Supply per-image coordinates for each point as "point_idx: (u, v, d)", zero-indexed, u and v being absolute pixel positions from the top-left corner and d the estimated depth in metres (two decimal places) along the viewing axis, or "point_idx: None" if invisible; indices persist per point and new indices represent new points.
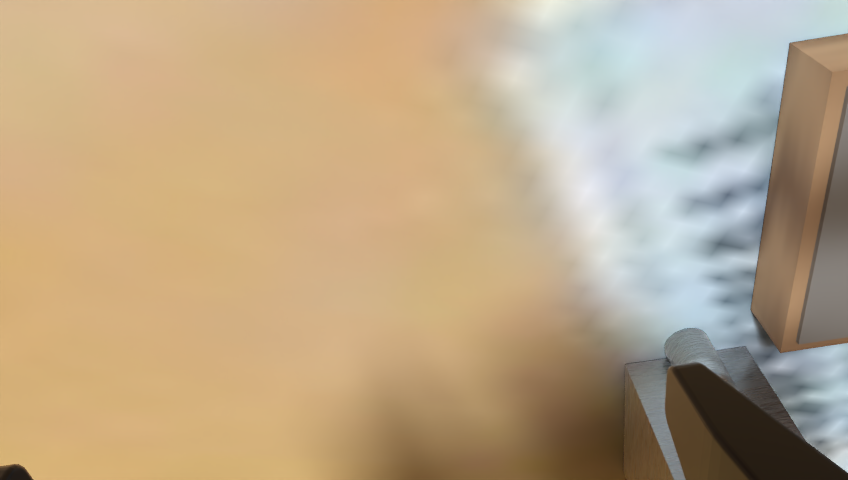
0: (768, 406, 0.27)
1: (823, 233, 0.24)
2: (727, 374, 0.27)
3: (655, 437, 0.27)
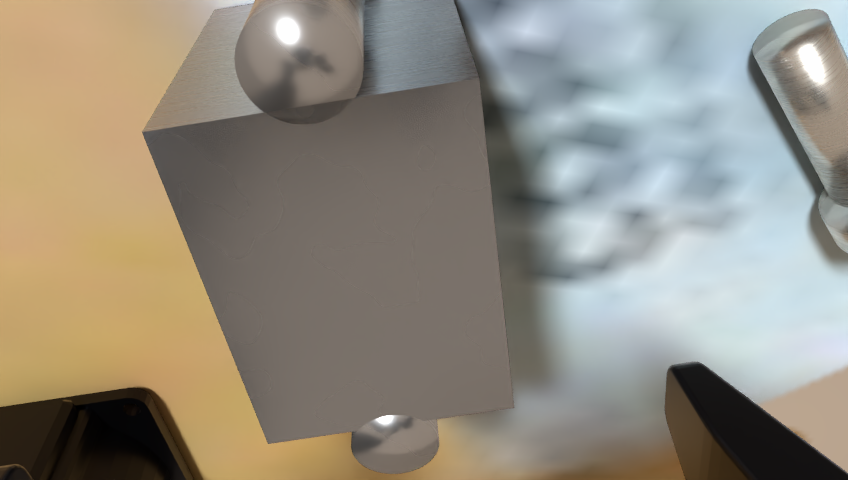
0: (430, 23, 0.13)
1: None
2: None
3: None
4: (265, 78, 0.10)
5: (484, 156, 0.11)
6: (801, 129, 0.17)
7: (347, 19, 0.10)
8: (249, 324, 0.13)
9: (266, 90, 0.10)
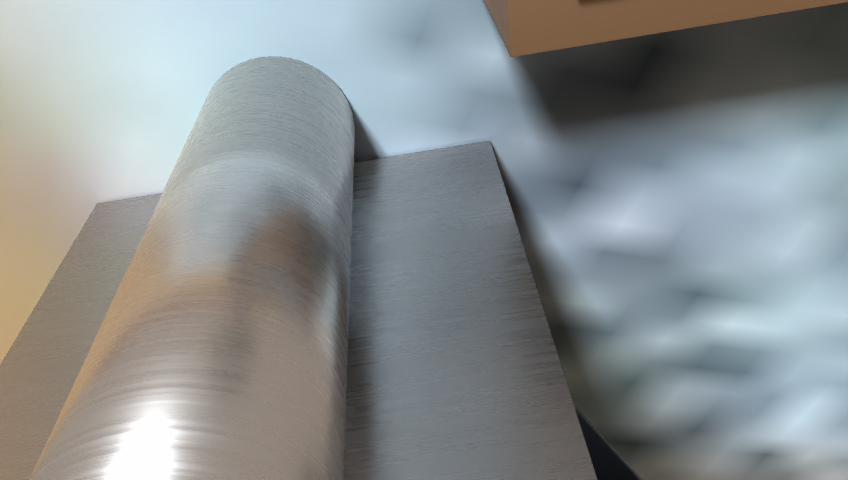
0: (482, 314, 0.06)
1: None
2: (301, 174, 0.06)
3: None
4: None
5: None
6: None
7: None
8: None
9: None
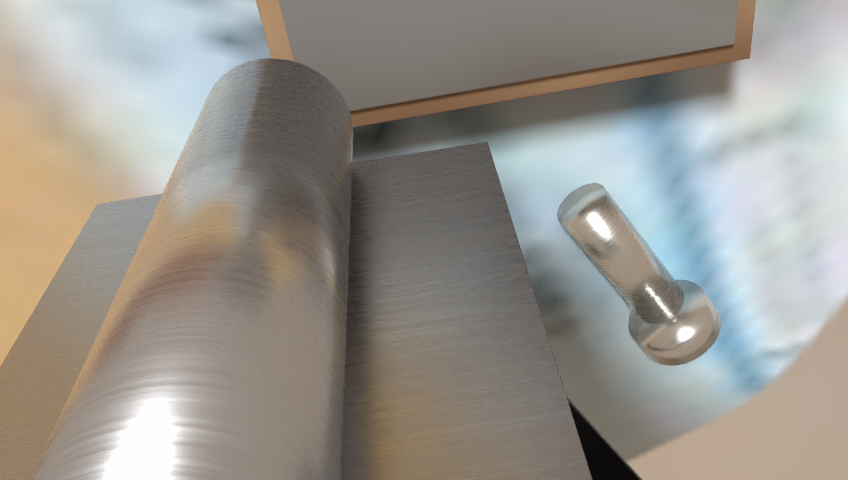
0: (479, 313, 0.06)
1: None
2: (299, 175, 0.06)
3: None
4: None
5: None
6: (600, 269, 0.22)
7: None
8: None
9: None
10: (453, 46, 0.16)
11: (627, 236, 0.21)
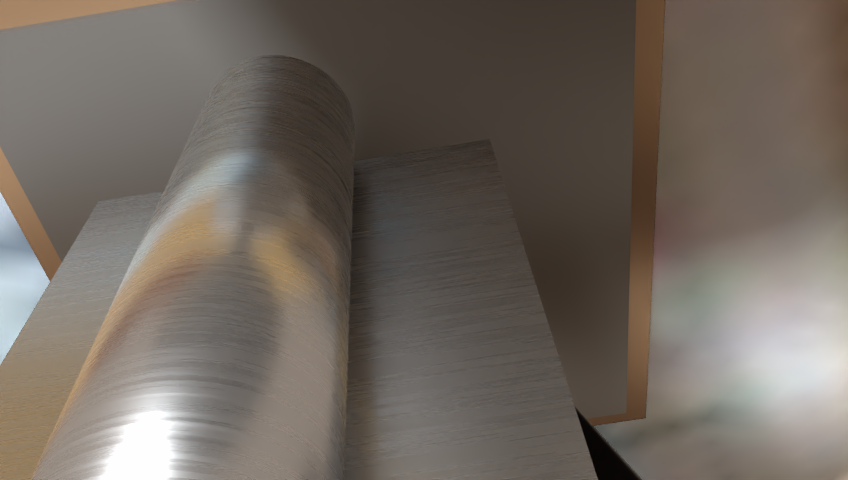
0: (482, 310, 0.06)
1: None
2: (302, 171, 0.06)
3: None
4: None
5: None
6: None
7: None
8: None
9: None
10: None
11: None
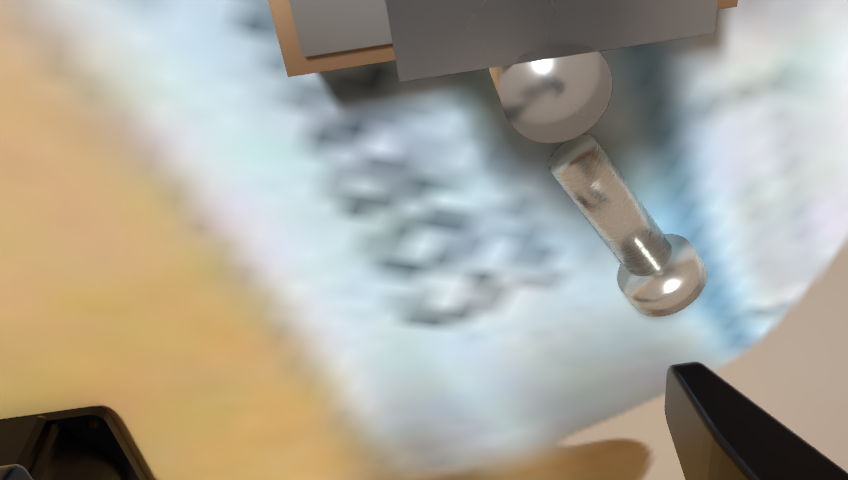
0: None
1: None
2: None
3: None
4: None
5: None
6: (589, 220, 0.22)
7: None
8: None
9: None
10: None
11: (616, 187, 0.21)
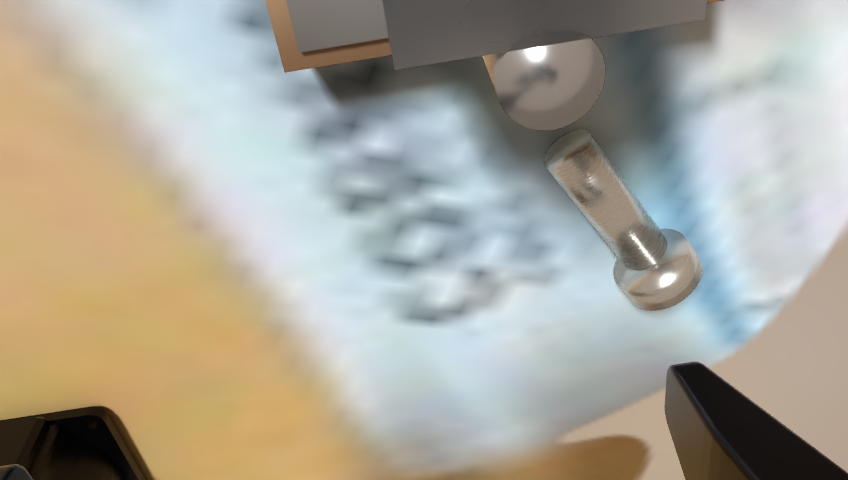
0: None
1: None
2: None
3: None
4: None
5: None
6: (585, 214, 0.23)
7: None
8: None
9: None
10: None
11: (611, 181, 0.22)
